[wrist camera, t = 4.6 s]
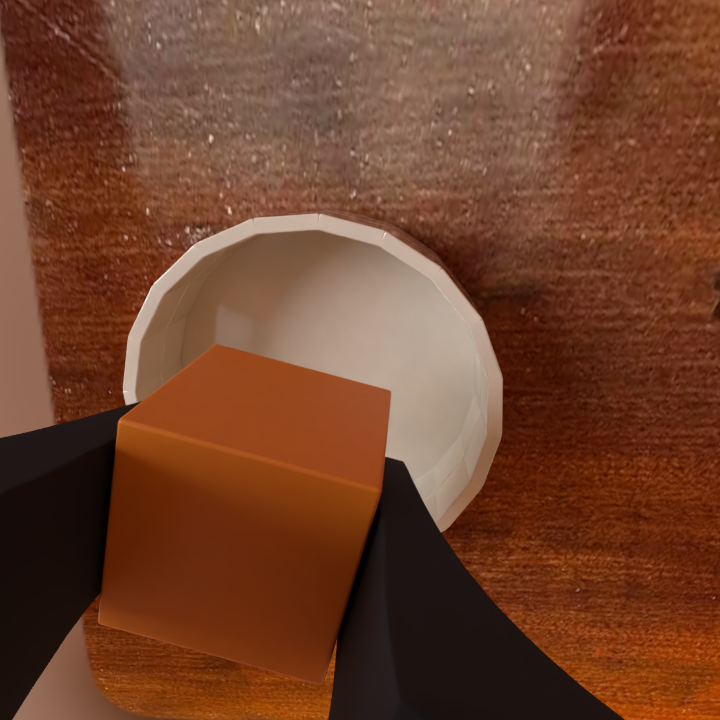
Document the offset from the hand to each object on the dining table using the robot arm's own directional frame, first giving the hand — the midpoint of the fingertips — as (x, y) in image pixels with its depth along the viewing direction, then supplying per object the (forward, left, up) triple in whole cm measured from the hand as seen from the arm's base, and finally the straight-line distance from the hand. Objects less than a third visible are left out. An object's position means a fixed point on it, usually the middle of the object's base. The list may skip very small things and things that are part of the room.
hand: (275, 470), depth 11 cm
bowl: (0, 0, -7) cm, 7 cm away
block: (0, 0, -1) cm, 1 cm away
